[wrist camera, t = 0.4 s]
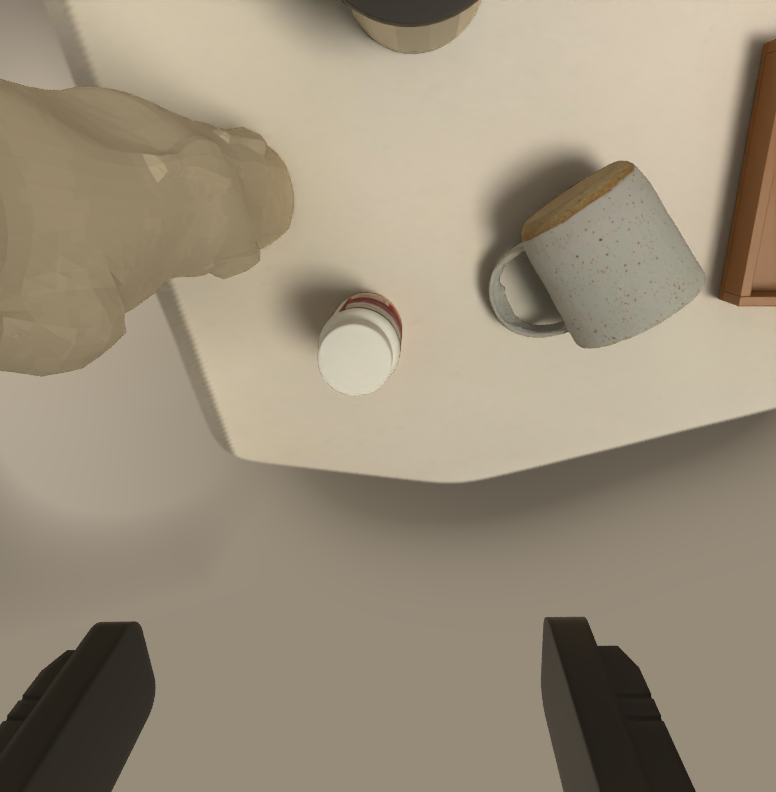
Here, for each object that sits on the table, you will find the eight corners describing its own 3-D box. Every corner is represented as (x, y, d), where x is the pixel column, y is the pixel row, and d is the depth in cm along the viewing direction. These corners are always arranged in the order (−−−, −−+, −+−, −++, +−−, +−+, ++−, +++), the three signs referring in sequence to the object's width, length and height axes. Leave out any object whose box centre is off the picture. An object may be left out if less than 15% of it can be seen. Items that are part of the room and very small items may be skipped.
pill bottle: (363, 375, 40) (348, 419, 32) (318, 321, 39) (291, 353, 31) (417, 333, 39) (416, 368, 31) (372, 276, 38) (359, 298, 30)
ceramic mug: (608, 153, 34) (655, 144, 27) (674, 266, 36) (734, 286, 29) (460, 260, 37) (466, 277, 30) (528, 360, 39) (550, 399, 32)
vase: (322, 253, 37) (14, 438, 9) (199, 284, 39) (-414, 536, 10) (282, 110, 35) (-324, -251, 6) (152, 148, 36) (-851, -20, 8)
